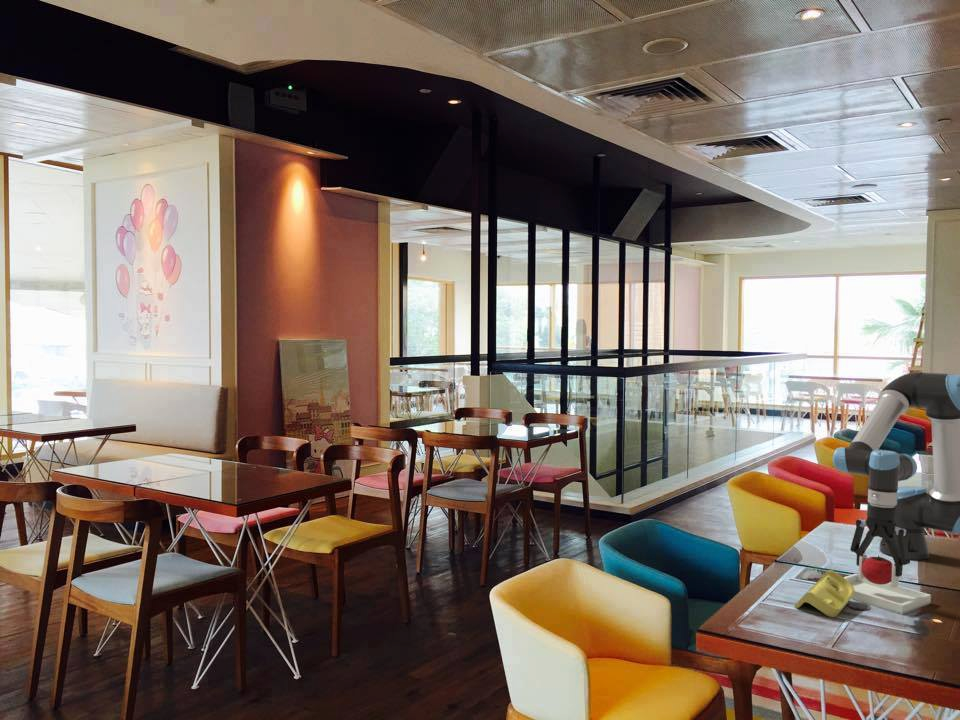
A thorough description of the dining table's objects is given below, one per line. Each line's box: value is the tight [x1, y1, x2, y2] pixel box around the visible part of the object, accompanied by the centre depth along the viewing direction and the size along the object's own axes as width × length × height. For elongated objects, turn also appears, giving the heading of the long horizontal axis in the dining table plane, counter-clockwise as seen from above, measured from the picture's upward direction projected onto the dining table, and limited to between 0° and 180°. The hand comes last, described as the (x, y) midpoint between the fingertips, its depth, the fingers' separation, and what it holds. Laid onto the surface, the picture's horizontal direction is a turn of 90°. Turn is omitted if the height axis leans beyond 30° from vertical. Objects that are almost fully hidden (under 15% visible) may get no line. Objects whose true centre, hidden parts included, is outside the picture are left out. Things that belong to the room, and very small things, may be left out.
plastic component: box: [794, 569, 854, 618], centre depth 221 cm, size 20×7×10 cm
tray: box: [842, 573, 932, 615], centre depth 228 cm, size 16×22×2 cm
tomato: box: [861, 555, 894, 585], centre depth 227 cm, size 9×9×8 cm
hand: (878, 582), depth 228 cm, fingers closed on tomato, 9 cm apart
